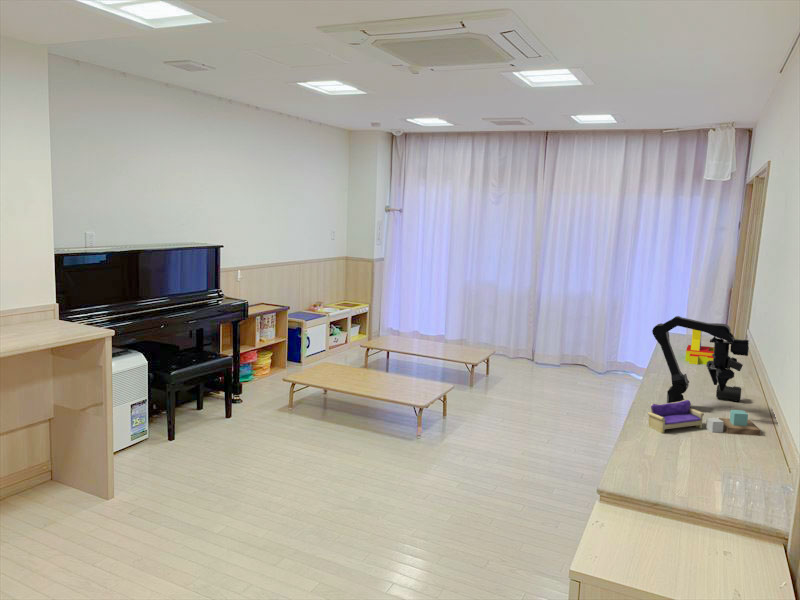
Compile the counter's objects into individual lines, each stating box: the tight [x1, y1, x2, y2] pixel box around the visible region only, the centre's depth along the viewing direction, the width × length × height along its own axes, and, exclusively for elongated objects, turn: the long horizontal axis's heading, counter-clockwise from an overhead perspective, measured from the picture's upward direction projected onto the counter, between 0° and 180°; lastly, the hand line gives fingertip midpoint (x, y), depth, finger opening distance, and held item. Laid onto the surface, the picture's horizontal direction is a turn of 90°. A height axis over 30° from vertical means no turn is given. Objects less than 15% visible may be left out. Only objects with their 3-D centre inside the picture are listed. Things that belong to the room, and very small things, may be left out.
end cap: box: [715, 384, 742, 403], centre depth 289 cm, size 10×7×7 cm
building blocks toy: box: [684, 329, 714, 366], centre depth 367 cm, size 19×25×18 cm
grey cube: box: [705, 417, 724, 433], centre depth 249 cm, size 4×4×4 cm
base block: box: [718, 417, 761, 437], centre depth 250 cm, size 12×12×3 cm
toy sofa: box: [647, 398, 705, 434], centre depth 251 cm, size 21×9×10 cm, turn 107°
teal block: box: [729, 409, 749, 426], centre depth 249 cm, size 5×5×5 cm
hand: (718, 387), depth 267 cm, fingers open, 9 cm apart
